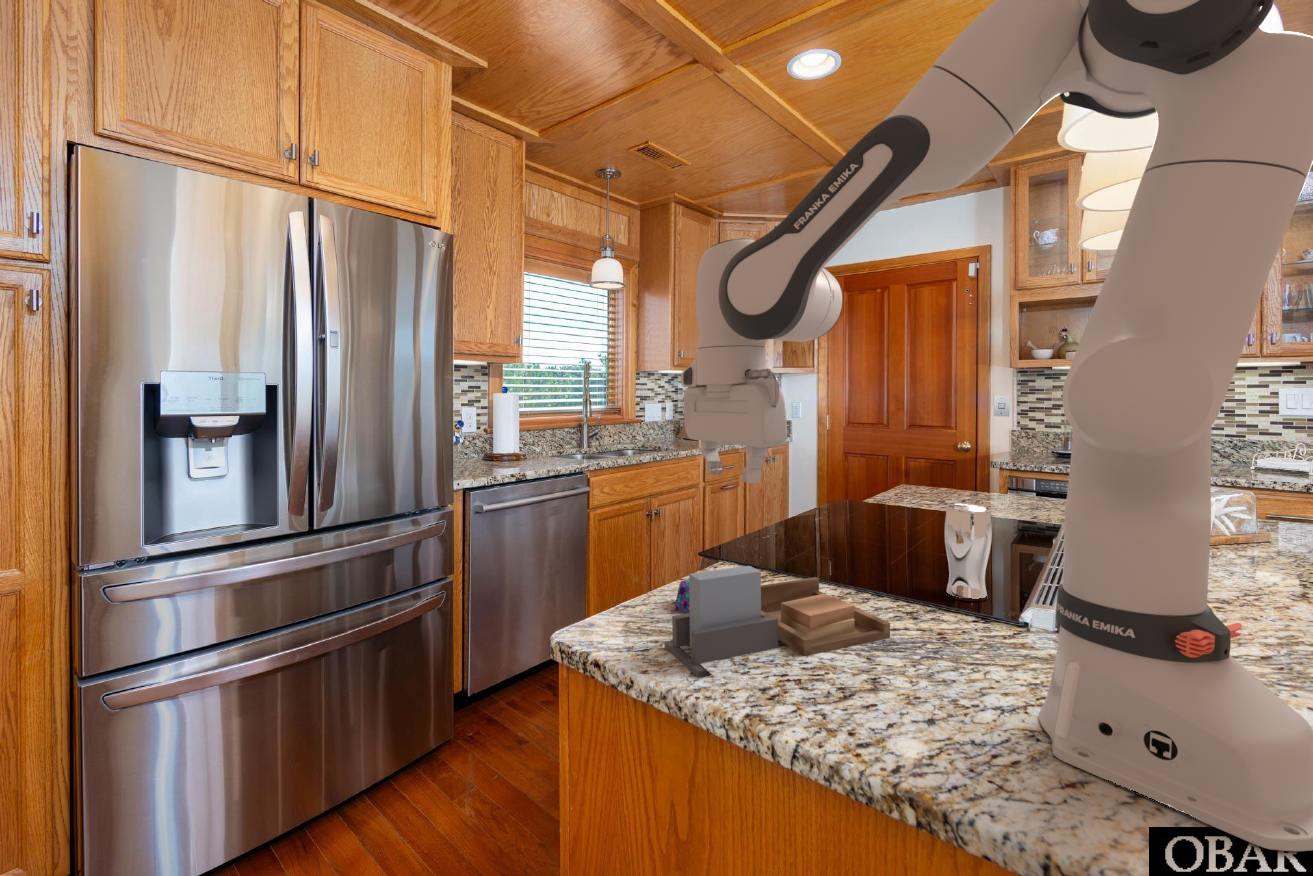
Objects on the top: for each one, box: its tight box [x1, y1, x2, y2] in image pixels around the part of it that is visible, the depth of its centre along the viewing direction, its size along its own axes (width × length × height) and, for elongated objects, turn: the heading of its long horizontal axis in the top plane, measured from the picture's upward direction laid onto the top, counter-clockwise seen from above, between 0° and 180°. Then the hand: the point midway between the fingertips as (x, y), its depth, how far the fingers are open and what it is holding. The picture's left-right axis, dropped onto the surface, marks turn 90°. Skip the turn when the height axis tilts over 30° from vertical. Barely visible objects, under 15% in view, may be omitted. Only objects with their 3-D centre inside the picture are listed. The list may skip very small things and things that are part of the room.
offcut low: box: [781, 616, 855, 641], centre depth 87 cm, size 6×8×2 cm
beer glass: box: [944, 503, 993, 599], centre depth 103 cm, size 7×7×15 cm
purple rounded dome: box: [674, 578, 690, 614], centre depth 97 cm, size 12×12×5 cm
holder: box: [664, 613, 779, 679], centre depth 82 cm, size 10×13×5 cm
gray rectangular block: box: [688, 565, 762, 650], centre depth 82 cm, size 3×9×10 cm, turn 113°
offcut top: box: [781, 593, 855, 629], centre depth 87 cm, size 6×8×2 cm
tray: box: [761, 576, 891, 657], centre depth 89 cm, size 16×14×5 cm
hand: (731, 478), depth 81 cm, fingers open, 8 cm apart
